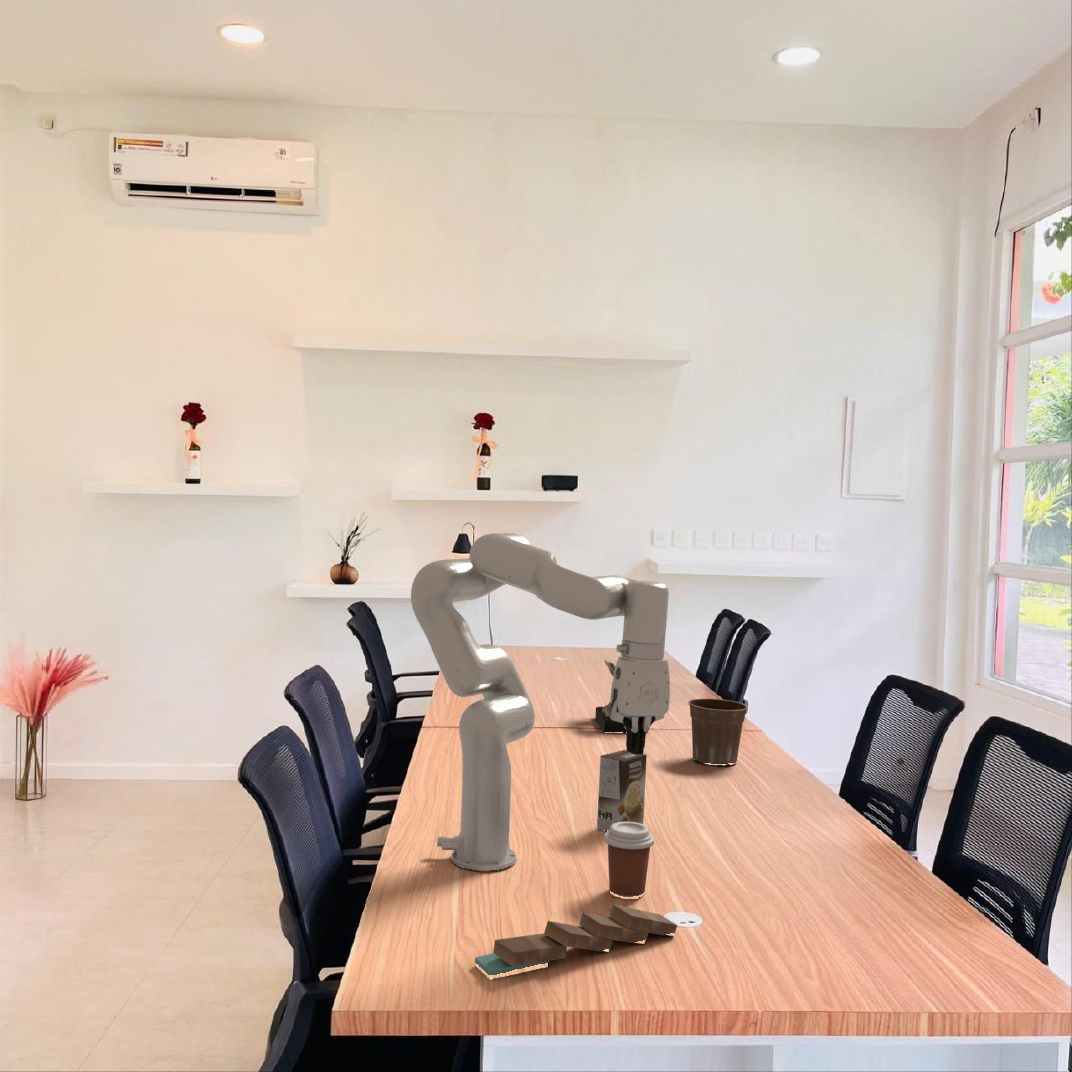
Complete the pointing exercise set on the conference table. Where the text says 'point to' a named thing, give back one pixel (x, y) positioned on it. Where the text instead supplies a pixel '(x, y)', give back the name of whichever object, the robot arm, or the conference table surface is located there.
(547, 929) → the domino
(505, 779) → the robot arm
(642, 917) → the domino
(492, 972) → the teal domino
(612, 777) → the coffee box
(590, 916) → the domino
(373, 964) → the conference table surface
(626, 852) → the coffee cup
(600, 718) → the coral
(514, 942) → the domino
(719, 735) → the plant pot
